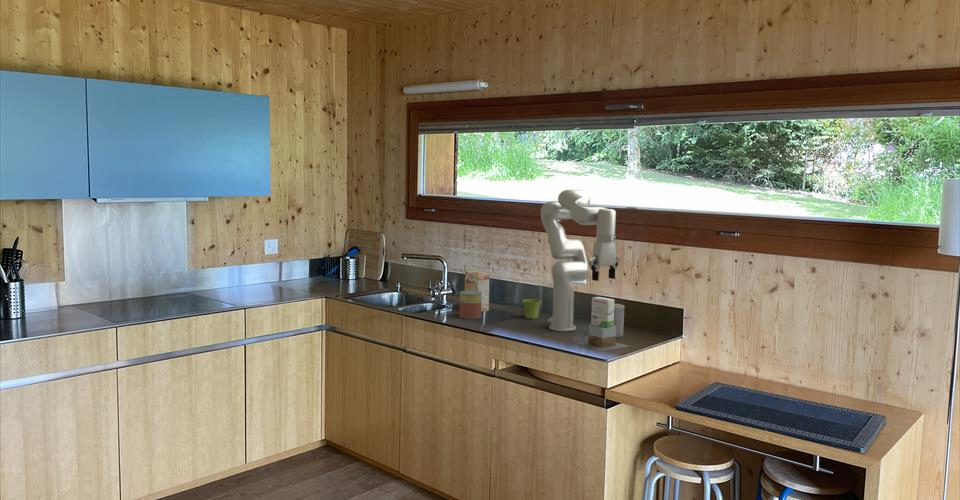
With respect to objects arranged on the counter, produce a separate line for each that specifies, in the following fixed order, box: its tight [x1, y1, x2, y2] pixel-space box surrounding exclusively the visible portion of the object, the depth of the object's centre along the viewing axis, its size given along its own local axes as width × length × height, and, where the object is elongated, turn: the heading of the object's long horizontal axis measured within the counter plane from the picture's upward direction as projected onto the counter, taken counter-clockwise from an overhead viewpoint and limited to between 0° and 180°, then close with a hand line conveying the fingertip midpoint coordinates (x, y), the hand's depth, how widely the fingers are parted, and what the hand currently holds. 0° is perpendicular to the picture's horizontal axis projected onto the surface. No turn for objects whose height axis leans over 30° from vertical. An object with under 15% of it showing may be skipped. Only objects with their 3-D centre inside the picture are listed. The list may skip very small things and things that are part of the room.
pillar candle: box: [614, 303, 625, 338], centre depth 323 cm, size 10×10×15 cm
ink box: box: [590, 296, 615, 328], centre depth 303 cm, size 8×5×12 cm, turn 45°
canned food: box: [458, 290, 482, 320], centre depth 360 cm, size 11×11×12 cm
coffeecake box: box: [464, 269, 490, 313], centre depth 380 cm, size 15×7×20 cm, turn 28°
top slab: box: [588, 324, 616, 338], centre depth 304 cm, size 8×8×4 cm
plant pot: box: [522, 298, 542, 320], centre depth 360 cm, size 9×9×9 cm
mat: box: [575, 340, 628, 352], centre depth 305 cm, size 16×16×1 cm
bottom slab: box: [587, 334, 617, 348], centre depth 305 cm, size 8×8×4 cm
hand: (603, 279), depth 302 cm, fingers open, 9 cm apart
